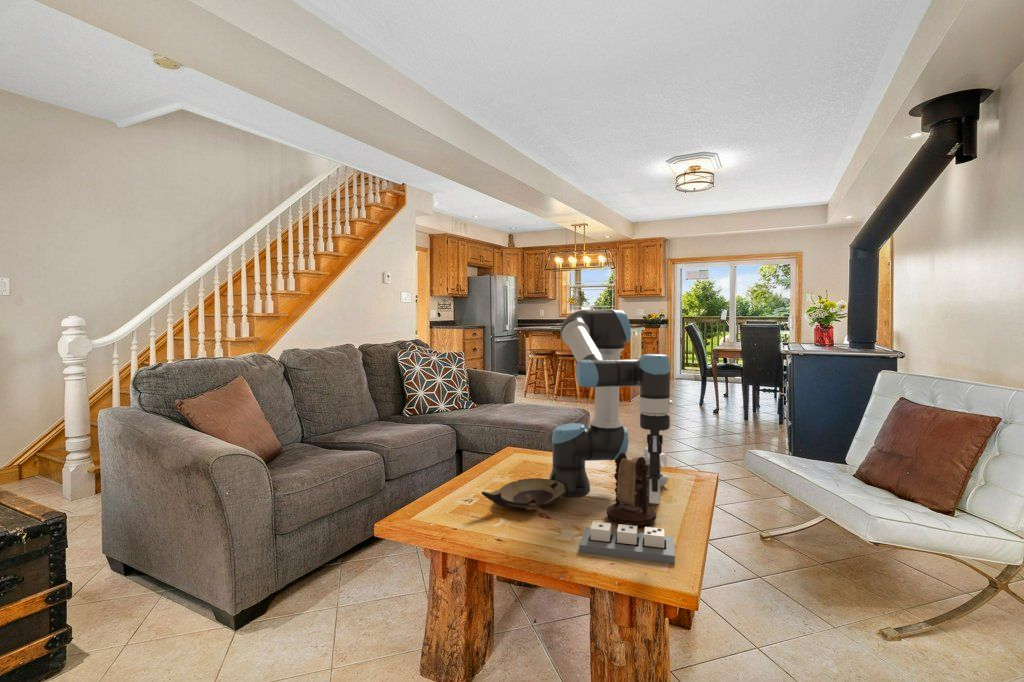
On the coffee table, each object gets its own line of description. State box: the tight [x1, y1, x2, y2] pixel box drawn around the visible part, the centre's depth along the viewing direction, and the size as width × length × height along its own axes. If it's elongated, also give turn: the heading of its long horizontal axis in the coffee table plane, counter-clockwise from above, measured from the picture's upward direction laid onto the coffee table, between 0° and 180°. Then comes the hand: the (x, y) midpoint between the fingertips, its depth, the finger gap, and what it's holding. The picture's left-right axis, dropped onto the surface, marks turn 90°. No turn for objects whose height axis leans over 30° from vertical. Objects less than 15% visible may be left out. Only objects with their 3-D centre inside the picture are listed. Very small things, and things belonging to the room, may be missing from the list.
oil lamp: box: [481, 477, 566, 509], centre depth 168 cm, size 22×30×8 cm
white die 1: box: [590, 521, 612, 543], centre depth 138 cm, size 5×5×3 cm
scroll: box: [606, 453, 657, 529], centre depth 155 cm, size 15×15×20 cm
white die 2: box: [616, 523, 638, 546], centre depth 136 cm, size 5×5×3 cm
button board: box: [578, 526, 676, 564], centre depth 136 cm, size 24×12×2 cm, turn 74°
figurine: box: [643, 446, 670, 487], centre depth 186 cm, size 7×9×15 cm
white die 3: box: [643, 526, 665, 549], centre depth 134 cm, size 5×5×3 cm
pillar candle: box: [631, 456, 662, 506], centre depth 171 cm, size 10×10×15 cm
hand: (654, 502), depth 133 cm, fingers closed
